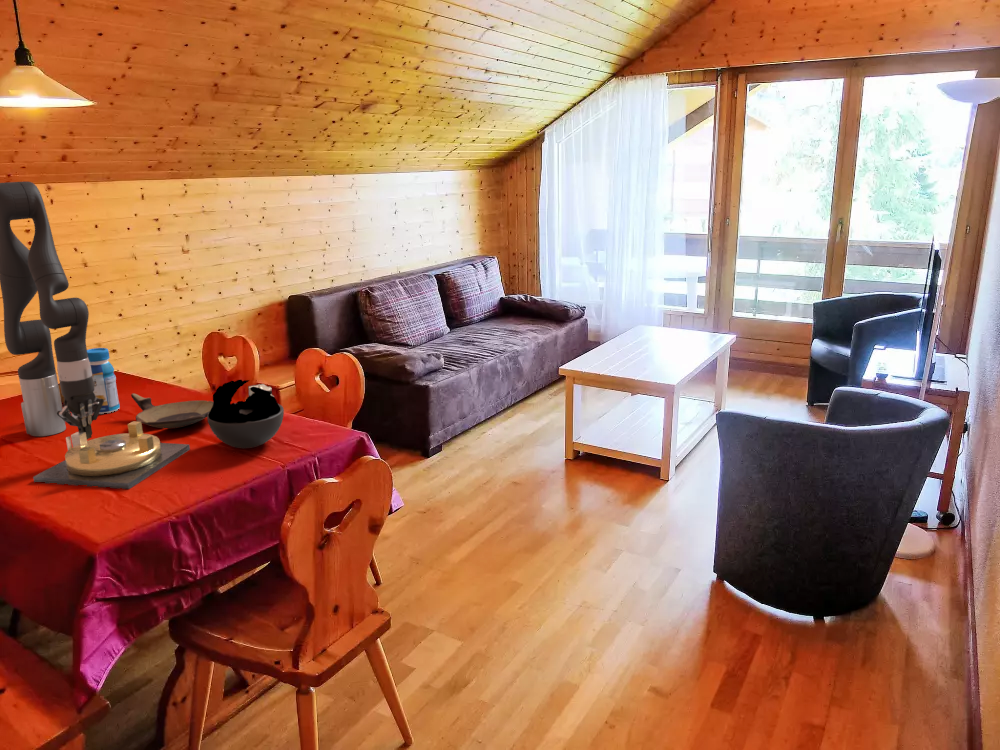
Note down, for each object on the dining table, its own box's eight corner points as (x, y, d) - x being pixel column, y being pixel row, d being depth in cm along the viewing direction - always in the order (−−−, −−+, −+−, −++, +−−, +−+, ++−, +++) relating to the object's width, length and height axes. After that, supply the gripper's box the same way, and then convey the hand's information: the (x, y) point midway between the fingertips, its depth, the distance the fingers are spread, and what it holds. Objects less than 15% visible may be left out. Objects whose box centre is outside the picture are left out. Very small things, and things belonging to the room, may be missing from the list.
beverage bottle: (123, 411, 234) (114, 350, 229) (94, 416, 229) (84, 354, 224) (116, 404, 241) (107, 345, 235) (88, 410, 235) (78, 349, 230)
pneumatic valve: (260, 429, 217) (256, 391, 214) (250, 418, 226) (246, 381, 223) (279, 426, 220) (275, 387, 216) (268, 415, 229) (264, 378, 226)
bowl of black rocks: (211, 438, 210) (204, 375, 205) (283, 429, 217) (278, 368, 211) (210, 464, 192) (202, 395, 187) (289, 453, 198) (283, 387, 193)
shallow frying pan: (157, 445, 206) (153, 419, 204) (120, 420, 226) (116, 396, 224) (233, 425, 221) (230, 401, 219) (192, 403, 241) (189, 381, 239)
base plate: (34, 482, 181) (28, 454, 179) (105, 444, 206) (101, 419, 204) (129, 489, 177) (124, 460, 175) (190, 449, 202) (186, 423, 200)
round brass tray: (178, 445, 200) (175, 422, 198) (127, 478, 179) (123, 453, 177) (104, 441, 203) (101, 419, 201) (46, 473, 182) (41, 448, 181)
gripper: (64, 384, 182) (76, 449, 187) (107, 370, 194) (117, 431, 199) (41, 381, 184) (53, 445, 189) (85, 367, 196) (96, 428, 201)
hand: (86, 438), depth 194 cm, fingers closed
